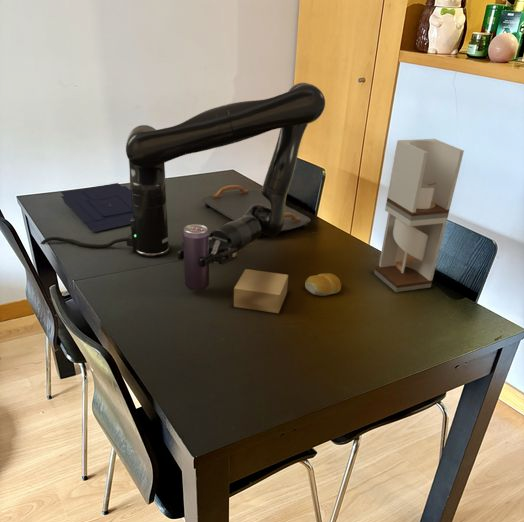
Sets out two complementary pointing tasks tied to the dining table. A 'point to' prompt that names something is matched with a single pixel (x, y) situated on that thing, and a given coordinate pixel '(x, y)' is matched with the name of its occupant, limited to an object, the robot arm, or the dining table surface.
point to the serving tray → (242, 200)
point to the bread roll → (323, 284)
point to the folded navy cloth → (101, 205)
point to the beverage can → (195, 256)
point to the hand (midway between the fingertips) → (189, 259)
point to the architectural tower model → (417, 211)
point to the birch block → (260, 291)
